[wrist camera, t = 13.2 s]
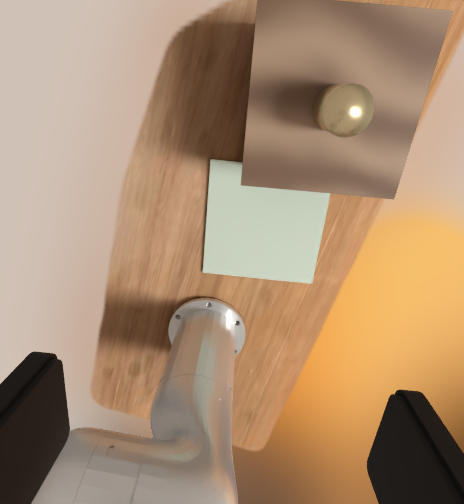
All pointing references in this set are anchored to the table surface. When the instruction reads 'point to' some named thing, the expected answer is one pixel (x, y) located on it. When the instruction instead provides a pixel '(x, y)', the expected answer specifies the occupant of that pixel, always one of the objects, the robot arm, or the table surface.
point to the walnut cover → (337, 94)
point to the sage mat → (261, 228)
